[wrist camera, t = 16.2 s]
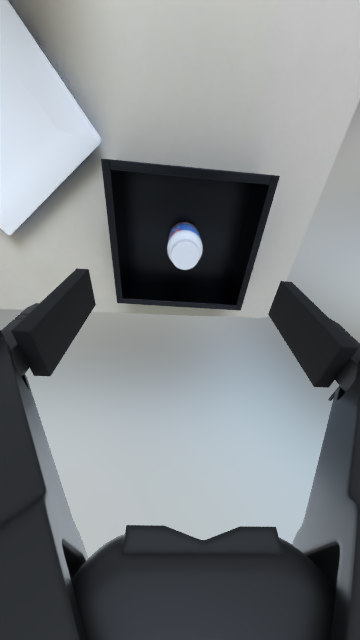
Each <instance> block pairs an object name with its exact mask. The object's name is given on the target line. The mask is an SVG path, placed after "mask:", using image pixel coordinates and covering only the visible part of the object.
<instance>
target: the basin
mask: <svg viewBox="0 0 360 640" xmlns="http://www.w3.org/2000/svg"><path fill="white" fill-rule="evenodd" d="M101 162H102V171H103V180H104V189H105V198H106V207H107V216H108V225H109V234H110V243H111V252H112V260H113V269H114V278H115V287H116V296H117V303H126V304H142V305H159V306H176V307H193V308H210V309H226V310H241V307H242V304H243V300H244V297H245V293H246V290H247V286H248V283H249V280H250V276H251V273H252V269H253V266H254V262H255V259H256V256H257V252H258V249H259V245H260V242H261V238H262V235H263V232H264V228H265V225H266V221H267V218H268V214H269V211H270V207H271V204H272V201H273V197H274V194H275V190H276V187H277V183H278V180H279V177H280V176H274V175H264V174H254V173H243V172H233V171H223V170H212V169H202V168H192V167H182V166H171V165H161V164H151V163H140V162H130V161H120V160H109V159H101ZM180 222H188V223H191V224H193V225H194V226H195V227H196V229H197V230H198V232H199V235H200V238H201V242H202V246H203V251H202V255H201V257H200V259H199V260H198V263H197V264H196V265H195V266H194V267H193V268H191V269H188V270H182V269H179V268H177V267H176V266H175V265H174V264H173V262H172V261H171V260H170V258H169V256H168V253H167V245H168V238H169V233H170V231H171V229H172V228H173V227H174V226H175V225H176V224H178V223H180Z"/></svg>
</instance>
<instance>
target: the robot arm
mask: <svg viewBox="0 0 360 640" xmlns="http://www.w3.org/2000/svg"><path fill="white" fill-rule="evenodd" d="M94 306H95V300H94V294H93V289H92V284H91V279H90V274H89V269H76V270H75V271H74V272H73V273H72V274H71V275H70V276H69V277H67V278H66V279H65V280H64V281H63V282H62V283H61V284H60V285H59V286H58V287H57V288H56V289H55V290H54V291H53V292H51V293H50V294H49V295H48V296H47V297H46V298H45V299H44V300H43V301H42V302H41V303H36V304H34V305H32V306H30V307H28V308H26V309H25V310H24V311H23V312H22V313H21V314H20V315H18V316H17V317H16V318H15V320H13V321H12V322H10V323H9V324H8V325H7V326H6V327H5V328H4V329H3V330H1V331H0V640H360V343H358V342H357V341H356V340H355V339H354V338H353V337H352V336H350V334H349V333H348V332H347V331H345V329H344V328H343V327H342V326H340V325H339V324H338V323H336V322H335V321H333V320H331V319H329V318H328V317H327V316H326V315H325V314H324V313H323V312H322V311H321V310H320V309H319V308H318V307H317V306H316V305H315V304H314V303H313V302H312V301H310V300H309V299H308V298H307V297H306V296H305V295H304V294H303V293H302V292H301V291H300V290H299V289H298V288H297V287H296V286H295V285H294V284H293V283H292V282H284V281H281V282H280V285H279V287H278V290H277V293H276V295H275V298H274V301H273V303H272V306H271V309H270V311H269V314H268V315H269V316H270V318H271V319H272V321H273V322H274V324H275V326H276V327H277V329H278V330H279V332H280V334H281V335H282V337H283V338H284V340H285V341H286V343H287V345H288V346H289V348H290V349H291V351H292V353H293V354H294V356H295V357H296V359H297V360H298V362H299V364H300V365H301V367H302V368H303V370H304V372H305V373H306V375H307V376H308V378H309V379H310V381H311V383H312V384H313V386H314V387H329V386H330V385H331V384H332V382H333V381H334V380H336V381H337V383H338V384H339V385H340V386H339V387H338V388H337V389H336V391H335V392H334V393H333V394H332V395H331V397H330V398H329V400H330V401H331V400H332V399H333V404H332V408H331V412H330V416H329V420H328V424H327V429H326V432H325V436H324V440H323V444H322V449H321V453H320V457H319V461H318V465H317V469H316V473H315V477H314V482H313V486H312V489H311V494H310V498H309V502H308V506H307V510H306V514H305V518H304V521H303V523H302V526H301V527H300V529H299V531H298V532H297V534H296V536H295V538H294V541H293V544H290V543H288V542H287V541H284V540H283V539H281V538H279V537H278V533H277V530H276V527H238V528H235V529H233V530H230V531H228V532H225V533H222V534H220V535H218V536H215V537H212V538H210V539H207V540H199V539H197V538H194V537H191V536H189V535H186V534H184V533H181V532H179V531H176V530H174V529H171V528H168V527H166V526H140V525H139V526H138V525H137V526H136V525H127V526H126V533H125V534H124V535H121V536H118V537H116V538H115V539H113V540H111V541H109V542H108V543H106V544H105V545H103V546H102V547H101V548H99V549H98V550H97V551H96V552H95V553H94V554H93V555H92V556H91V557H89V558H88V556H87V554H86V551H85V547H84V545H83V542H82V539H81V537H80V534H79V532H78V530H77V528H76V525H75V523H74V521H73V518H72V516H71V513H70V509H69V506H68V503H67V500H66V497H65V494H64V491H63V488H62V485H61V482H60V478H59V475H58V472H57V469H56V466H55V463H54V460H53V457H52V454H51V451H50V448H49V445H48V441H47V438H46V435H45V432H44V429H43V426H42V423H41V420H40V417H39V414H38V411H37V408H36V404H35V401H34V398H33V395H32V392H31V389H30V386H29V383H28V380H27V377H26V375H25V372H26V371H27V370H28V369H29V367H30V369H31V371H32V372H33V375H34V376H51V374H52V373H53V371H54V370H55V368H56V366H57V365H58V363H59V362H60V360H61V359H62V357H63V355H64V354H65V352H66V351H67V349H68V347H69V346H70V344H71V343H72V341H73V339H74V338H75V336H76V335H77V333H78V332H79V330H80V329H81V327H82V325H83V324H84V322H85V321H86V319H87V317H88V316H89V314H90V313H91V311H92V310H93V308H94Z"/></svg>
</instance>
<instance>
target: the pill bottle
mask: <svg viewBox="0 0 360 640" xmlns="http://www.w3.org/2000/svg"><path fill="white" fill-rule="evenodd" d="M202 251H203V246H202V242H201V238H200V235H199V232H198V230H197V229H196V227H195V226H194V225H193V224H191V223H188V222H180V223H178V224H176V225H175V226H174V227H173V228H172V229H171V231H170V233H169V238H168V245H167V253H168V256H169V258H170V260H171V261H172V262H173V264H174V265H175V266H176V267H177V268H179V269H182V270H188V269H191V268H193V267H194V266H195V265H196V264H197V263H198V260H199V259H200V257H201V255H202Z"/></svg>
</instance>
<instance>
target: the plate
mask: <svg viewBox="0 0 360 640" xmlns="http://www.w3.org/2000/svg"><path fill="white" fill-rule="evenodd" d="M100 143H101V138H100V136H99V135H98V133H97V132H96V130H95V129H94V127H93V126H92V124H91V123H90V121H89V120H88V118H87V117H86V115H85V114H84V112H83V111H82V109H81V108H80V106H79V105H78V103H77V102H76V100H75V99H74V97H73V96H72V95H71V93H70V92H69V90H68V89H67V87H66V86H65V84H64V83H63V81H62V80H61V78H60V77H59V75H58V74H57V72H56V71H55V69H54V68H53V66H52V65H51V63H50V62H49V60H48V59H47V57H46V56H45V54H44V53H43V51H42V50H41V49H40V47H39V46H38V44H37V43H36V41H35V40H34V38H33V37H32V35H31V34H30V32H29V31H28V29H27V28H26V26H25V25H24V23H23V22H22V20H21V19H20V17H19V16H18V14H17V13H16V11H15V10H14V8H13V7H12V5H11V4H10V3H9V1H8V0H0V228H1V229H2V230H3V231H4V232H5V233H6V234H7V235H11V234H12V233H13V232H14V231H15V230H16V229H17V228H18V227H19V226H20V225H21V224H22V223H23V222H24V221H25V220H26V219H27V218H28V217H29V216H30V215H31V214H32V213H33V212H34V211H35V210H36V209H37V208H38V207H39V206H40V205H41V204H42V203H43V202H44V201H45V199H46V198H47V197H48V196H49V195H50V194H51V193H52V192H53V191H54V190H55V189H56V188H57V187H58V186H59V185H60V184H61V183H62V182H63V181H64V180H65V179H66V178H67V177H68V176H69V175H70V174H71V173H72V172H73V171H74V170H75V169H76V168H77V167H78V166H79V165H80V164H81V163H82V162H83V161H84V160H85V159H86V158H87V156H88V155H89V154H90V153H91V152H92V151H93V150H94V149H95V148H96V147H97V146H98V145H99V144H100Z"/></svg>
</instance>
